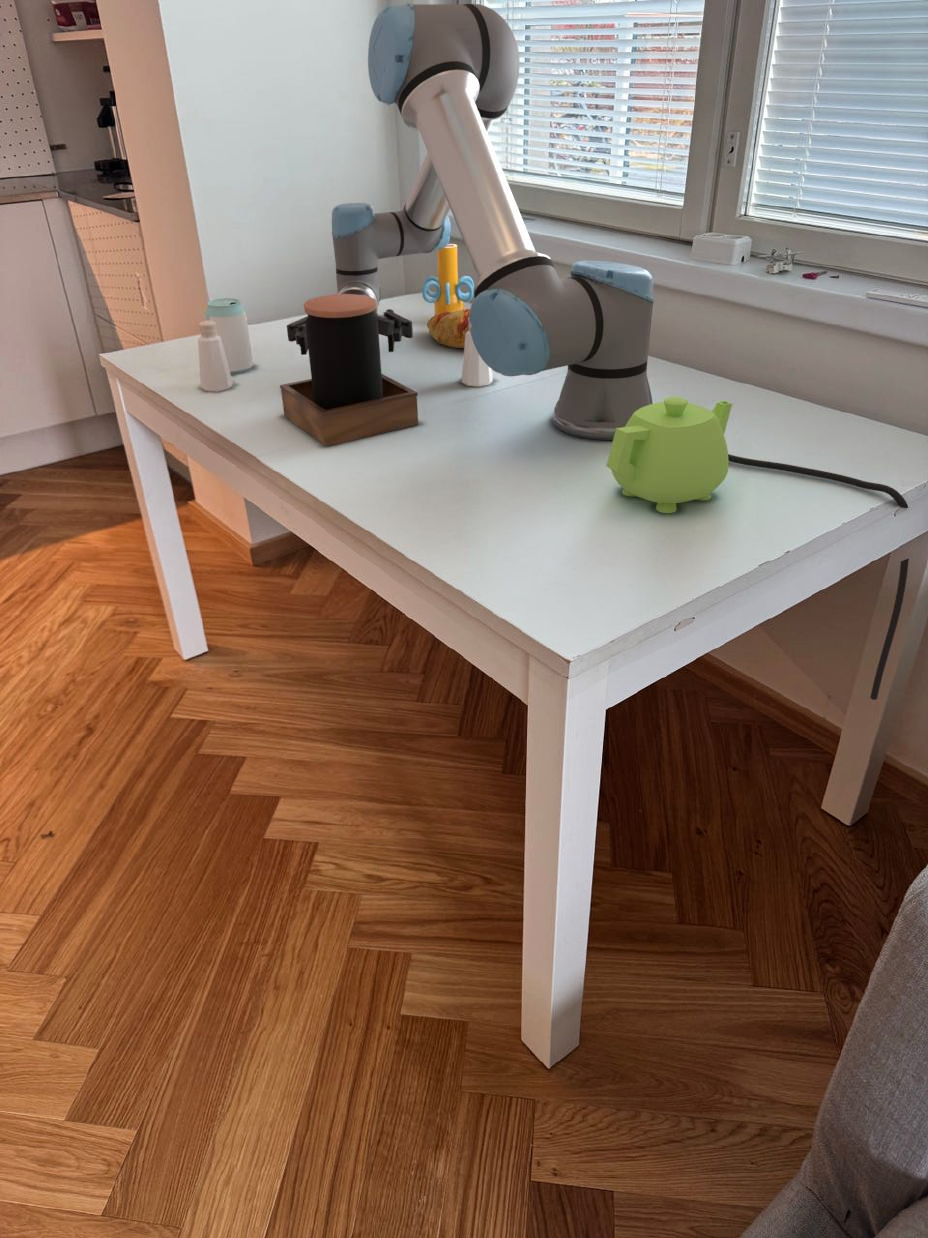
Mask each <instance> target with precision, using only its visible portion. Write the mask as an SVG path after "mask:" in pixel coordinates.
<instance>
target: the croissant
mask: <svg viewBox="0 0 928 1238" xmlns="http://www.w3.org/2000/svg"><path fill="white" fill-rule="evenodd" d="M470 308H471V307H467V308H463V309H461V310H456V311H454V312H443V313H440V314H438V315H435V314H434V315H433V316H432V317H430V318H429V320H428V322H427V324H426V325H427V329H428V332H429V334H430V336H431V337H432V339H434V340H435V341H436V343H437V344H441V345H444V346H447V347H449V348H455V349H458V348H460V349H464V346H465V335H466V333H467V332H468V331H469V322H468V318H469V313H470Z"/></svg>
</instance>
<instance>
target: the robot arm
mask: <svg viewBox="0 0 928 1238" xmlns="http://www.w3.org/2000/svg"><path fill="white" fill-rule="evenodd" d="M367 69H368V78H369V82H370V83H369V84H370V87H371V90H372V92H373V94H374V97H375V98H376V100H378V101H379V102H380V103H383V104H386V105H388V106H390V105H393V104H395V105H396V106H397V108H398V111H399V113H400V116H401V118H402V121H403V123H404V124H405V125H406V126H407V127H408V128H409V129H411V130H414V131H417V132H419V134H420V136H421V139H422V141H423V144H424V146H425V149H426V151H427V152H426V155H425V157H424V158H423V162H422V163H421V166H420V169H419V171H418V173H417V176H416V178H415V180H414V183H413V185H412V187H411V190H410V193H409V194H408V197H407V199H406V202H405V204H404V206H403V208H402V210H398V211H388V212H376V213H375V211H374V206H373V205H372V204H370V203H366V202H348V203H347V202H346V203H341V204H338V205H336V206H334V207H333V209H332V210H331V237H332V245H333V252H334V262H335V277H336V289H337V294H357V295H365V296H369V297H372V298H374V299H375V300H376V302H377V303H376V309H375V310H374V314H375V315H376V317H377V320H378V330H379V336H380V335H381V336H384V337H386V338H387V346H388V347H387V348H388V349H387V350H388V353H394V351H395V343H400V342H402V339H403V337H404V338H405V339H412V338H413V337H414V330H413V321H412V320H409V319H408V318H405V317H404V316H402V315H400V314H397V313H396V312H395V311H394V309H391V308H388V309H386V310H385V311H384V312H383V314H378V309H379V305H380V302H381V286H380V285H379V272H378V271H379V270H378V269H379V268H378V260H382V259H387V258H395V257H402V256H409V255H418V254H429V253H430V254H431V253H432V252H435V251H436V252H437V250H440V249H443V248H444V247H446V246H447V244H449V242H450V239H451V235H450V233H451V232H452V225H451V224H452V223H451V221H450V217H449V215H448V214H449V212H450V211H451V214H452V216H453V219H454V221H455V223H456V226H457V228H458V231H459V233H460V236H461V239H462V241H463V243H464V246H465V248H466V251H467V253H468V256H469V259H470V261H471V262H472V266H473V268H474V271H475V273H476V275H477V282H476V284H475V285H474V290H473V298H474V299H473V301H472V303H471V305H470V307H469V308H470V313H469V322H470V323H471V325H472V327H471V328H470V332H471V336H472V340H473V343H474V345H475V348H476V350H477V352H478V353H479V355H480V357H481V358H482V360H483V361H484V362H485V363H486V364H487V366H489V367H490V368H491V369H492V372H495V373H498V374H500V375H501V376H504V377H518V376H533V375H536V374H539V373H541V372H545V371H549V370H552V369H557V368H562V367H567V372H566V376H565V379H564V381H563V383H562V387H561V390H560V394H559V397H558V400H557V401H556V403H555V406H554V409H553V423H554V426H555V427H556V428H558V429H559V430H560V431H562V432H564V433H567V434H568V435H571V436H574V437H578V438H583V439H590V440H603V441H606V440H607V441H609V440H610V441H611V440H612V441H613V438H614V435H615V431H616V428H622V427H625V426H626V424H627V422H628V421H629V419H630V418H631V416H632V415H633V413H634V412H635V411H637V410H638V409H640V408H642V407H644V406H647V405H650V404H654V403H653V397H652V392H651V387H650V383H649V378H648V373H647V370H648V358H649V350H650V349H649V348H650V337H651V327H652V318H653V317H652V316H653V307H654V304H655V299H654V298H653V297H654V277H653V275H652V274H651V272H649V270H647V269H645V268H643V267H640V266H636V265H631V264H626V263H620V262H613V261H603V260H578V261H575V262H574V263H573V264H572V265H571V269H570V271H569V274H570V276H569V277H562V278H560V277H559V274H558V272H557V270H556V268H555V265H554V263H553V260H552V259H551V257H550V256H549V255H547V254H544V253H541V252H538V251H536V249H535V247H534V244H533V242H532V239H531V237H530V235H529V231H528V229H527V227H526V224H525V222H524V220H523V217H522V215H521V212H520V210H519V207H518V204H517V202H516V200H515V197H514V195H513V193H512V190H511V188H510V185H509V182H508V180H507V178H506V175H505V173H504V170H503V168H502V166H501V165H502V164H501V163H500V161H499V159H498V155H497V153H496V151H495V149H494V146H493V144H492V141H491V137H490V136H489V134H488V133H489V132H490V130H491V127H492V125H493V123H494V121H495V120H498V119H500V118H501V117H503V116H504V115H505V114H506V112H507V110H508V109H509V106H510V104H511V102H512V100H513V98H514V96H515V93H516V90H517V87H518V81H519V77H520V53H519V47H518V43H517V40H516V37H515V35H514V33H513V30H512V28H511V27H510V26H509V24H508V22H507V21H506V20H505V19H504V17H503V16H502V15H500V14H499V13H498V12H497V11H496V10H494V9H492V8H491V7H488V6H486V5H483V4H479V3H465V4H458V3H455V4H454V3H453V4H450V3H449V4H448V3H447V4H445V3H444V4H443V3H441V4H439V3H437V4H436V3H435V4H431V3H429V4H424V3H423V4H421V3H419V4H413V3H410V2H406V3H405V4H395V5H388V6H386V7H385V8H383V9H382V10H381V11H380V12H379V13H378V15H377V16H376V18H375V20H374V22H373V24H372V27H371V31H370V35H369V41H368V50H367ZM307 317H308V315H307V316H304V317H302V318H299V319H297V320H296V321H293V322H291V323H289V324H287V325H286V332H287V340H288V342H292V343H293V342H295V344H296V346H297V345H298V346H299V347H300V355H302V356H305V355H307V353H308V352H309V350H308V341H307V332H306V319H307ZM728 462H730V463H735V464H740V465H744V466H749V467H756V468H763V469H770V470H777V471H784V472H789V473H793V474H799V475H805V476H810V477H816V478H819V479H820V478H821V479H826V480H829V481H835V482H839V483H843V484H846V485H850V486H853V487H857V488H861V489H865V490H870V491H876V492H881V493H885V494H887V495H889V496H890V497H891V498H892V499H893V501H895V502H896V504H897V505H898V507H900V508H903V509H909V505H908V503H907V501H906V499H905V498H904V497H903V496H902V494H901V493H899V491H898V490H896V489H895V488H893V487H892V486H889V485H886V484H882V483H878V482H877V483H876V482H871V481H866V480H861V479H859V478H855V477H852V476H847V475H844V474H838V473H834V472H830V471H824V470H819V469H815V468H809V467H804V466H798V465H793V464H787V463H781V462H775V461H768V460H767V461H766V460H760V459H753V458H748V457H743V456H737V455H734V454H729V453H728ZM909 561H910V559H909V558H906V559H904V560H901V561H900V566H899V574H898V575H899V577H898V583H897V590H896V594H895V599H894V600H895V601H894V605H893V609H892V613H891V617H890V621H889V622H890V623H889V625H888V628H887V633H886V635H885V639H884V642H883V646H882V649H881V654H880V656H879V661H878V664H877V668H876V671H875V674H874V679H873V684H872V689H871V691H870V692H871V693H870V697H869V698H870V699H871V700H873V701H876V700H878V697H879V692H880V687H881V683H882V680H883V676H884V672H885V668H886V664H887V662H888V661H887V660H888V657H889V653H890V651H891V647H892V643H893V640H894V638H895V637H894V636H895V633H896V630H897V627H898V622H899V620H900V619H899V618H900V615H901V611H902V605H903V601H904V597H905V591H906V590H905V589H906V585H907V578H908V572H909V571H908V569H909Z"/></svg>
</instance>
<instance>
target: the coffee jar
mask: <svg viewBox="0 0 928 1238" xmlns="http://www.w3.org/2000/svg"><path fill="white" fill-rule="evenodd" d="M376 303H377V302H376V300H375V299H374V298H372V297H369V296H365V295H357V294H338V293H337V294H328V295H321V296H317V297H313V298H310V299H308V300H306V301H305V302H304V303H303V308H304V312H305V313H306V315H307V316H308V317H307V316H306V317H307V319H306V332H307V341H308V359H309V367H310V376H311V377H310V379H312V388H313V397H314V403H315V404H317V405H318V406H320V407H321V408H323V409H325V410H329V409H334V408H338V407H343V406H348V405H352V404H357V403H361V402H366V401H371V400H375V399H380V398H383V389H382V375H381V373H382V362H381V349H380V348H381V347H380V334H379V330H378V320H377V317H376V315H375V314H374V310H375V309H376Z"/></svg>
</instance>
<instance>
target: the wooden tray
mask: <svg viewBox="0 0 928 1238" xmlns="http://www.w3.org/2000/svg"><path fill="white" fill-rule="evenodd" d="M381 375H382V389H383V398H380V399H375V400H371V401H366V402H361V403H357V404H352V405H348V406H343V407H338V408H334V409H329V410H325V409H323V408H321V407H320V406H318V405H317V404H315V403H314V397H313V388H312V378H308V379H303V380H297V381H293V382H288V383H283V384H280V385H279V389H280V392H281V402H282V408H283V416H284V418H286V419H287V420H288V421H290V422H291V423H293V424H294V425H295V426H297V427H298V428H300V430H302V431H303V432H305V433H307V434H308V435H309V436H311V437H312V438H314V439H315V440H316V441H318V443H321V444H323V446H325V447H329V446H335V445H338V444H342V443H347V442H350V441H355V440H360V439H364V438H368V437H373V436H376V435H380V434H384V433H388V432H394V431H397V430H402V429H407V428H410V427H414V426H418V425H419V410H418V396H419V393H418V392H417V391H415V390H414V389H411V388H410V387H408V386H406V385H404V384H402V383H400V382H399V381H397V380H395V379H393V378H391V377H389V376H388V375H385V374H383V373H382V372H381Z"/></svg>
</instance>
